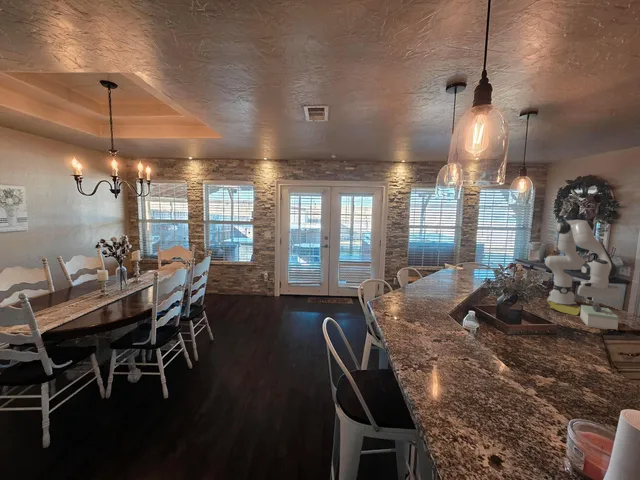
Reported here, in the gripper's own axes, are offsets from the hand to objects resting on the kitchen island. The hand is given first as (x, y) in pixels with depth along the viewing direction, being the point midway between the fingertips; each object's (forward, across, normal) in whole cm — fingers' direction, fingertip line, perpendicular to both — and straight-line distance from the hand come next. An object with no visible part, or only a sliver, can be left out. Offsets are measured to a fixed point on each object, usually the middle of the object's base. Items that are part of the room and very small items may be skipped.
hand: (596, 304), depth 191 cm
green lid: (+6, -1, 0) cm, 6 cm away
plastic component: (+14, +14, -21) cm, 29 cm away
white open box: (+13, -1, 0) cm, 13 cm away
